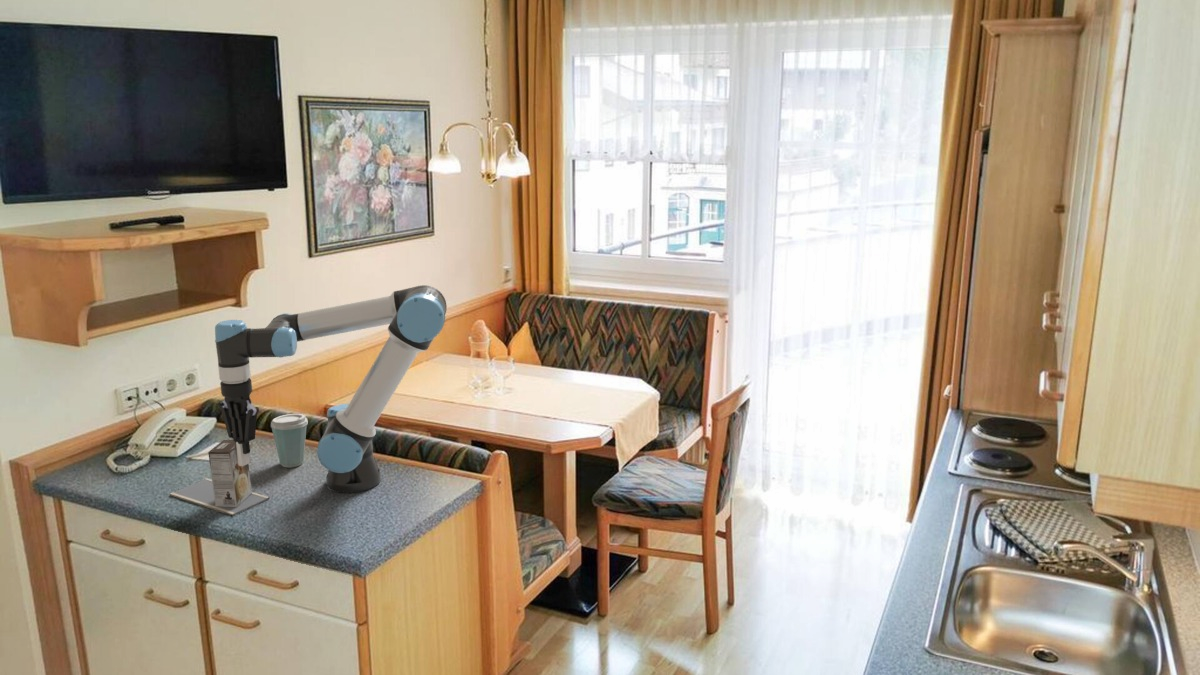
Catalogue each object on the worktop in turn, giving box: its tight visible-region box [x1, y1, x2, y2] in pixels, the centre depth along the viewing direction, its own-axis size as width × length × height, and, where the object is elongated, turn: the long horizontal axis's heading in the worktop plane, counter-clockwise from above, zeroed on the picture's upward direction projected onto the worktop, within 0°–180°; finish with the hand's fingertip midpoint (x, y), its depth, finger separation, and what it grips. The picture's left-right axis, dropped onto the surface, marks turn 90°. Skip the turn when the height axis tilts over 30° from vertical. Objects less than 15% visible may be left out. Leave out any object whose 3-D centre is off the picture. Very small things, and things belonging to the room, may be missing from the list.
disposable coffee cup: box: [270, 413, 309, 468], centre depth 271 cm, size 11×11×15 cm
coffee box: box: [207, 439, 253, 507], centre depth 245 cm, size 9×6×16 cm
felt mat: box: [169, 477, 270, 517], centre depth 250 cm, size 26×12×1 cm, turn 60°
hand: (244, 463), depth 241 cm, fingers closed
